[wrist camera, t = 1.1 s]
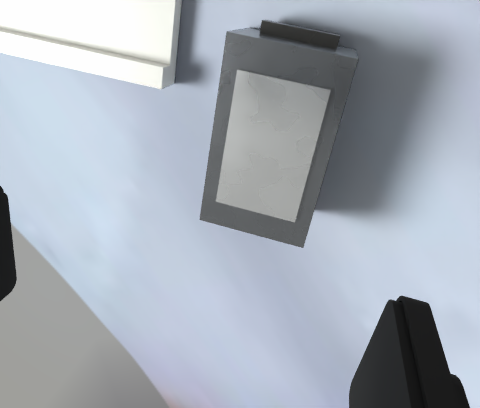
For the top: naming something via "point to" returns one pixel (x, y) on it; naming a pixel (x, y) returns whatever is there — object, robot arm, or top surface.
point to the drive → (275, 128)
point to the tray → (96, 36)
